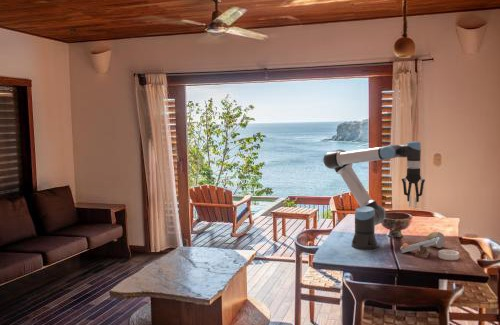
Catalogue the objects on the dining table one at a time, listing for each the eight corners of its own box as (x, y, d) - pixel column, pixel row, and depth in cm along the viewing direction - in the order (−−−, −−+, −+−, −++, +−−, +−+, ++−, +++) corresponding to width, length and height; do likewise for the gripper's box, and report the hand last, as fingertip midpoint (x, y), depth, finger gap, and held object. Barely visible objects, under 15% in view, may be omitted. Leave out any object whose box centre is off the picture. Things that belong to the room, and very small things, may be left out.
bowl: (437, 258, 253) (437, 253, 253) (439, 253, 262) (440, 248, 261) (457, 261, 248) (457, 255, 247) (459, 256, 257) (459, 250, 256)
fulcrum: (415, 256, 258) (415, 245, 257) (419, 250, 268) (419, 240, 267) (426, 257, 255) (427, 246, 254) (430, 252, 265) (430, 241, 264)
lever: (401, 253, 263) (399, 249, 263) (406, 247, 276) (404, 242, 276) (436, 244, 253) (434, 239, 253) (440, 238, 266) (438, 233, 267)
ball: (402, 250, 265) (401, 244, 265) (403, 248, 268) (402, 242, 268) (408, 250, 263) (407, 244, 263) (409, 248, 266) (408, 242, 266)
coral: (439, 239, 267) (426, 229, 275) (434, 252, 272) (422, 242, 280) (450, 235, 271) (438, 226, 279) (445, 249, 276) (433, 239, 284)
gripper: (398, 167, 272) (398, 207, 274) (426, 168, 264) (425, 209, 266) (401, 166, 278) (400, 205, 281) (428, 167, 271) (427, 207, 273)
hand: (412, 207), depth 273 cm, fingers open, 3 cm apart
